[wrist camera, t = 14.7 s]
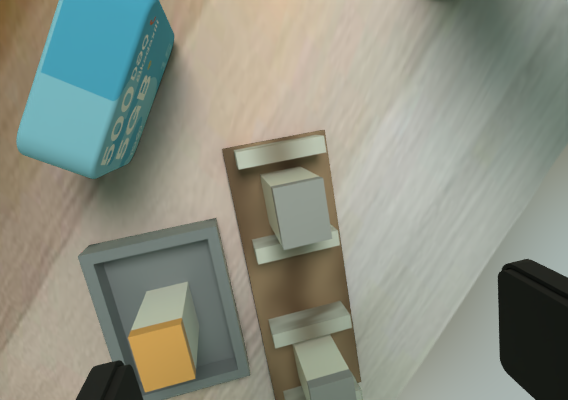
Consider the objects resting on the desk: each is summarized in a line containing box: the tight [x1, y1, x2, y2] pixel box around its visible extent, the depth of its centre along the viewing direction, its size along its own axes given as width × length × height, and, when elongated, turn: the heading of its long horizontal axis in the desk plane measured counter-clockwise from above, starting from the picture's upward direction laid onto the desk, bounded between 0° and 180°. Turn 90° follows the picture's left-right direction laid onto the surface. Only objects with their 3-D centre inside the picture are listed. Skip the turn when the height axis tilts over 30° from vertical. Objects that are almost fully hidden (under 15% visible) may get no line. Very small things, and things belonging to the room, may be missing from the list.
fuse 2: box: [292, 334, 357, 400], centre depth 37 cm, size 4×5×8 cm
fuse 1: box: [260, 166, 332, 250], centre depth 32 cm, size 4×5×8 cm
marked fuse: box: [128, 282, 199, 392], centre depth 33 cm, size 4×5×8 cm
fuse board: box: [222, 130, 363, 400], centre depth 37 cm, size 10×29×4 cm, turn 10°
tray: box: [78, 218, 250, 400], centre depth 36 cm, size 12×16×3 cm
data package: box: [17, 0, 174, 179], centre depth 27 cm, size 12×4×12 cm, turn 157°
